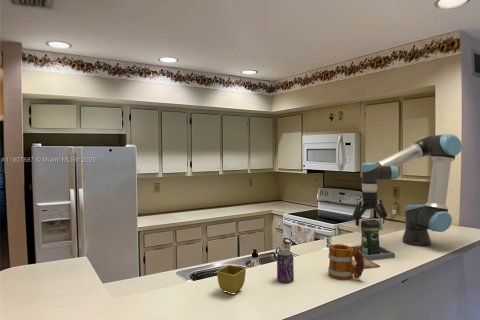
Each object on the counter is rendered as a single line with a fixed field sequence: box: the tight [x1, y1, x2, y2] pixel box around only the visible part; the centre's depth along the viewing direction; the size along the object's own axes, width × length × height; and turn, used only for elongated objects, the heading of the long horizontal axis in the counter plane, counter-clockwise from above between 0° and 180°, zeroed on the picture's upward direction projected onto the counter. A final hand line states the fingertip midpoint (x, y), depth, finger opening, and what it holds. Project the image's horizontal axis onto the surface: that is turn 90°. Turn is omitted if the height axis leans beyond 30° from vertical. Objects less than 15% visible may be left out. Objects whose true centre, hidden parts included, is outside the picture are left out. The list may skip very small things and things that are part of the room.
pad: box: [352, 258, 381, 270], centre depth 157 cm, size 11×11×1 cm
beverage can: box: [276, 250, 295, 283], centre depth 139 cm, size 7×7×12 cm
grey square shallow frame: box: [350, 245, 396, 261], centre depth 173 cm, size 17×17×3 cm
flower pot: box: [216, 264, 247, 294], centre depth 128 cm, size 9×9×9 cm
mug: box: [327, 243, 365, 281], centre depth 142 cm, size 11×16×15 cm, turn 44°
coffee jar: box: [360, 219, 381, 255], centre depth 172 cm, size 10×8×19 cm
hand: (370, 230), depth 172 cm, fingers open, 13 cm apart
